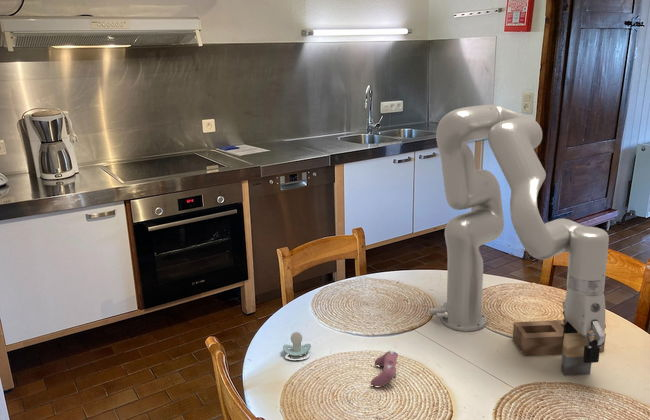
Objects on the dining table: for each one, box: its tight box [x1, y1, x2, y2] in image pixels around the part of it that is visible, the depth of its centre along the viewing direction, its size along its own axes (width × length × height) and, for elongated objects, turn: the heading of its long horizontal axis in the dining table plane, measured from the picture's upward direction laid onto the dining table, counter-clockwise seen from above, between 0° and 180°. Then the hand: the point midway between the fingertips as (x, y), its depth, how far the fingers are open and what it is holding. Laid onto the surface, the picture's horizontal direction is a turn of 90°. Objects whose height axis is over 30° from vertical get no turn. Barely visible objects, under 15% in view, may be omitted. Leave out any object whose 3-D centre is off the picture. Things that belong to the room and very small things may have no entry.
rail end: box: [560, 332, 594, 377], centre depth 122 cm, size 6×2×10 cm, turn 91°
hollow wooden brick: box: [512, 319, 607, 357], centre depth 134 cm, size 20×8×5 cm, turn 91°
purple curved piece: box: [370, 350, 399, 387], centre depth 124 cm, size 10×5×7 cm, turn 168°
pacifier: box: [282, 331, 312, 358], centre depth 135 cm, size 7×6×6 cm
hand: (580, 350), depth 121 cm, fingers open, 9 cm apart
